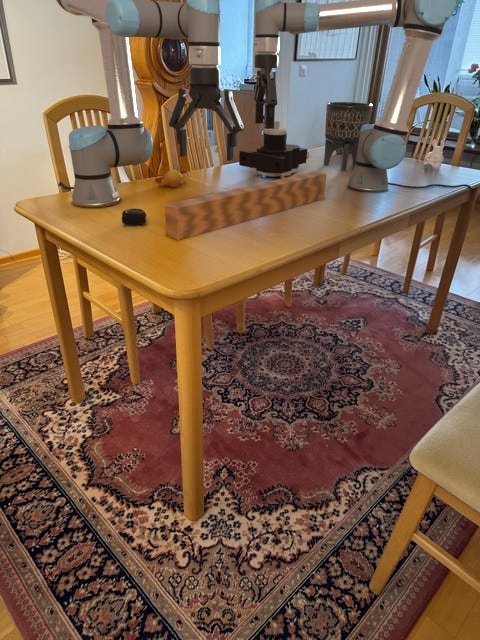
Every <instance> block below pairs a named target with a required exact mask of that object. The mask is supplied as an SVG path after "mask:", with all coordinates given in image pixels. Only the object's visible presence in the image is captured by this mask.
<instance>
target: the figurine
mask: <svg viewBox="0 0 480 640" xmlns="http://www.w3.org/2000/svg"><path fill="white" fill-rule="evenodd" d="M437 144H438V142H437V139H436V138H434V139H433V140H432V141H431V146H432V148H433V150H432V151H430V152H428V153H427V154H426V155H425V157H424V161H423V163H422V167H423V168H424V169H433V170H437V171H439V168H440V167H441V165H442V162H443V161H444V155H443V154H444V151H443V149H444V147H445V145H446V143H445V142H444V141H443V140H442V139H440V145H437Z"/></svg>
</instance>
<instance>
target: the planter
mask: <svg viewBox="0 0 480 640" xmlns="http://www.w3.org/2000/svg"><path fill="white" fill-rule="evenodd" d="M373 107H374V106H373V104H372V103H367V102H353V101H333V102H327V103H326V109H325V124H324V125H325V126H324V139H325V144H324V156H323V157H324V158H323V165H325V166H328V165H330V163H331V158H332V156H333V154H334V153H335V151H336V149H338V148H340V147H342V154H341V166H340V170H341V172H345V171H347V167H348V166H347V165H348V159H349V154H348V152H349V150H350V151H351V153H352V154H351V157H352V158H351V159H352V160H351V161H352V166H353V167H355V165H356V158H357V151H358V144H359V136H360V135H359V133H360V130H361V127H362V126H363V125H365V124H370V121H371V116H372V112H373Z"/></svg>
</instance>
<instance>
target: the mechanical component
mask: <svg viewBox="0 0 480 640" xmlns="http://www.w3.org/2000/svg"><path fill="white" fill-rule="evenodd" d="M287 138H288V129H287V128H286V127H280V121H279V120H274V129H265V128H264V129H263V145H262V146H258V147H257V148H256V151H250V150H245V149H241V150H239V153H238V154H239V155H238V157H239V159H238V166H240V167H245V168H250V169H255V173H256V174H257V175H261V177H262V178H267V177H279V179H282V178H285V176H291V175H292V173H298V171H299V167H300V165H303V164H304V165H305V164H307V160H309V158H310V156H311V154H310V152H309V151H308V148H304V147H301V146H299V145H297V144H290V143H287Z"/></svg>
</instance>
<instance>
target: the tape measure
mask: <svg viewBox="0 0 480 640" xmlns="http://www.w3.org/2000/svg"><path fill="white" fill-rule="evenodd" d="M146 218H147V214H146V212H145V210H144V209H142V208H137V207H135V208H127V209H125V210H123V211H122V213H121V222H122V224H124V225H129V226H130V225H131V226H137V225H146V224H147V219H146Z"/></svg>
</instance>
